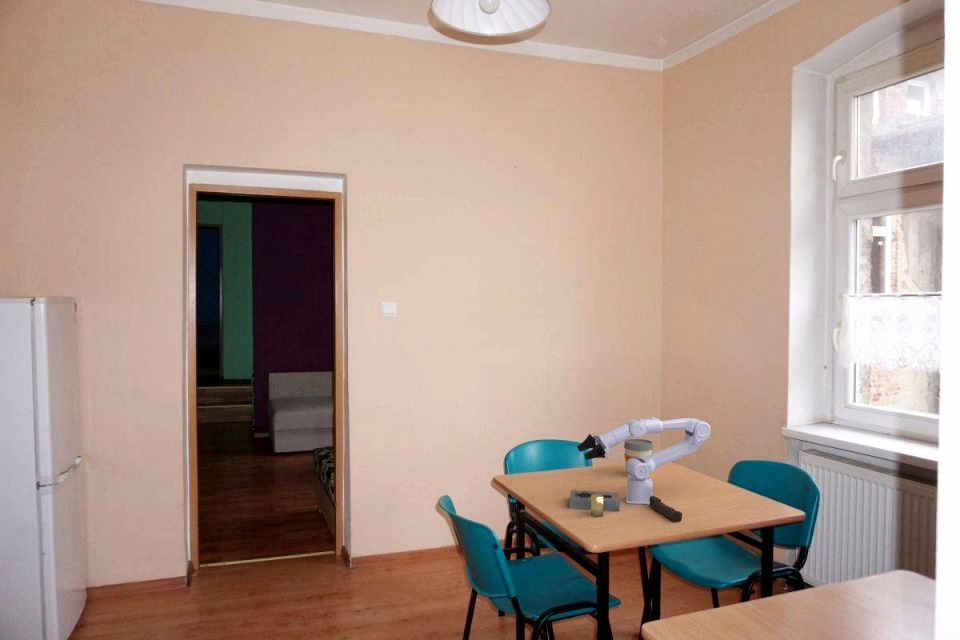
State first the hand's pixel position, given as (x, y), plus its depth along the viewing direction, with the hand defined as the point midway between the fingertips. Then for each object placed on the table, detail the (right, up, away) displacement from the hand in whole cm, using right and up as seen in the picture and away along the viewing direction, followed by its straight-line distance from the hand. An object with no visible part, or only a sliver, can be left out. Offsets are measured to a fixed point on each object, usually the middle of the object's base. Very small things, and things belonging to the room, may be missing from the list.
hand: (581, 453), depth 243 cm
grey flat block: (+4, -19, -2) cm, 20 cm away
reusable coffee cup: (+32, -18, +40) cm, 54 cm away
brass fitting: (+3, -19, -14) cm, 24 cm away
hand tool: (+27, -20, -13) cm, 36 cm away
